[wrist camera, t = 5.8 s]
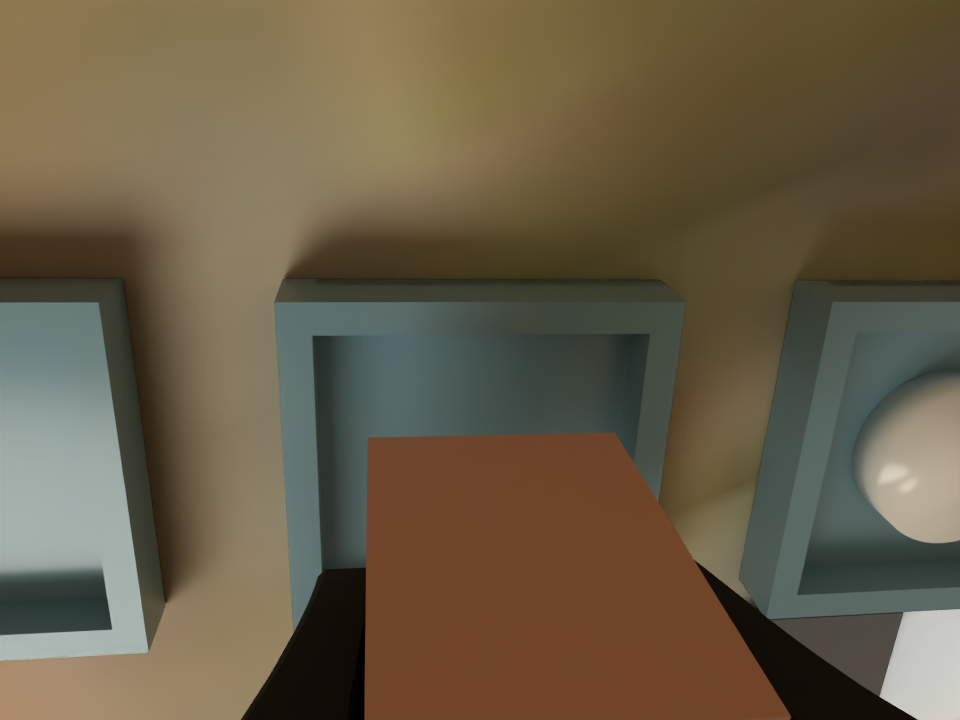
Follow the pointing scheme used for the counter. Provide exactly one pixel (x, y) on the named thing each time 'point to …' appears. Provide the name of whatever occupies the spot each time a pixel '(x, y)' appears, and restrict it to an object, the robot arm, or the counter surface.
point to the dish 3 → (845, 454)
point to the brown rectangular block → (539, 590)
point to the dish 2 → (456, 382)
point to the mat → (849, 642)
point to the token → (914, 457)
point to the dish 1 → (73, 476)
